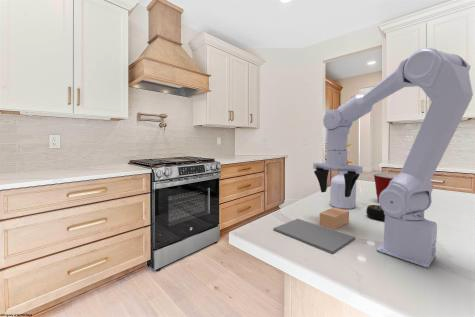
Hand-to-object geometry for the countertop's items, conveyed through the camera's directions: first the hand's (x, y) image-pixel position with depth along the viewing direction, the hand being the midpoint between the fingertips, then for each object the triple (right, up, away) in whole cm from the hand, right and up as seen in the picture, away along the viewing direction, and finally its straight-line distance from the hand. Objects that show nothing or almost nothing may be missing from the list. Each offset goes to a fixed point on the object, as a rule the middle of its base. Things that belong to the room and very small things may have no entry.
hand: (335, 194), depth 70 cm
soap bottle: (+11, -8, +19) cm, 24 cm away
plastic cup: (+31, -8, +23) cm, 40 cm away
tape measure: (+18, -9, +6) cm, 21 cm away
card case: (0, -10, +1) cm, 10 cm away
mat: (-10, -10, -7) cm, 16 cm away
